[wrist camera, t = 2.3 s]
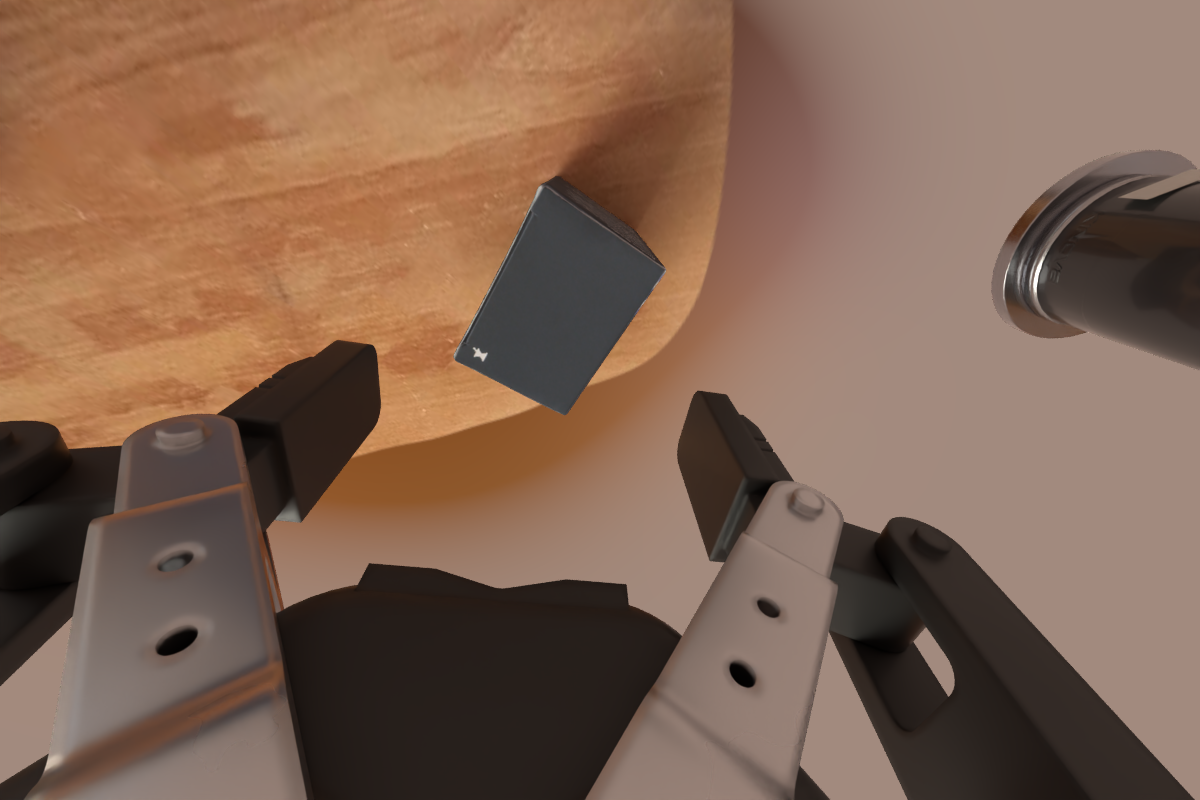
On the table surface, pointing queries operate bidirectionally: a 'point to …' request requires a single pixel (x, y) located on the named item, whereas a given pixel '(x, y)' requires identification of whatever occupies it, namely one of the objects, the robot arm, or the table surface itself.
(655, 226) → the table surface
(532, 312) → the box
